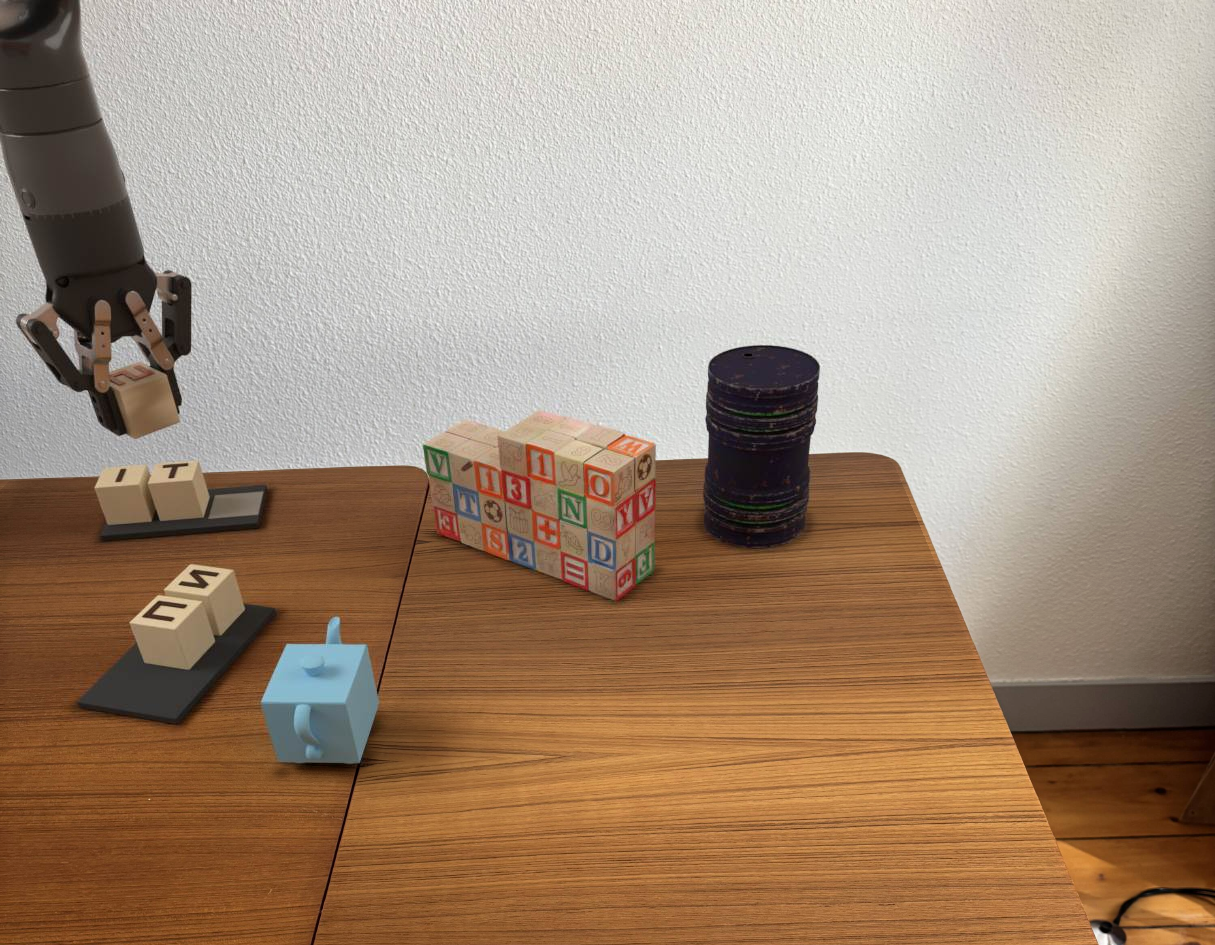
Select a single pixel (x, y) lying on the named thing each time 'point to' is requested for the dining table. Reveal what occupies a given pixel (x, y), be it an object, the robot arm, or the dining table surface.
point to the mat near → (179, 647)
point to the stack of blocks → (550, 498)
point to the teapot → (321, 701)
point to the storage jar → (759, 444)
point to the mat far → (172, 502)
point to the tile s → (143, 399)
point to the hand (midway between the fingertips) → (144, 421)
